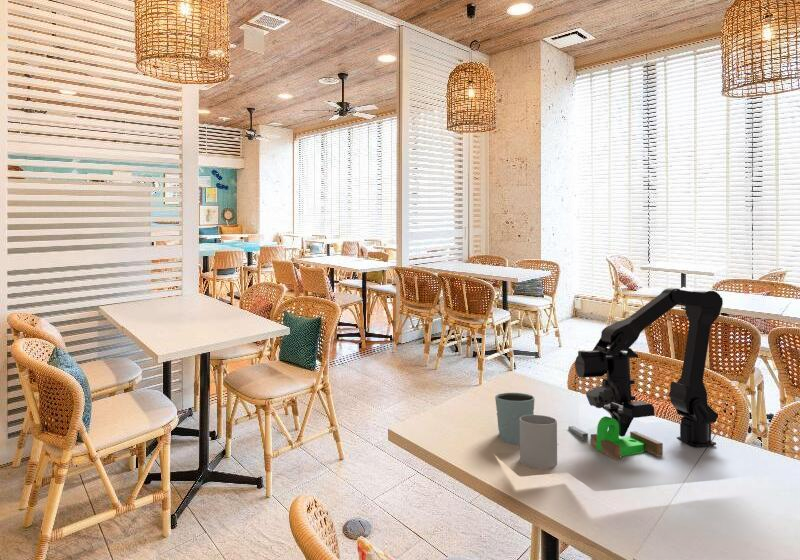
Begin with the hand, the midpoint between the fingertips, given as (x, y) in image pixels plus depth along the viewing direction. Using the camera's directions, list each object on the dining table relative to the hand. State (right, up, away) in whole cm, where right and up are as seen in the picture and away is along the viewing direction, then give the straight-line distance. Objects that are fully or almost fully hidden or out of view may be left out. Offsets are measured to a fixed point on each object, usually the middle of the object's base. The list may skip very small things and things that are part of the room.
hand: (621, 436), depth 127 cm
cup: (-24, -3, -11) cm, 27 cm away
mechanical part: (-1, -3, -3) cm, 4 cm away
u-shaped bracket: (-14, -3, +4) cm, 15 cm away
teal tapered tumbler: (-26, -3, +4) cm, 27 cm away
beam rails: (0, -3, -3) cm, 4 cm away
